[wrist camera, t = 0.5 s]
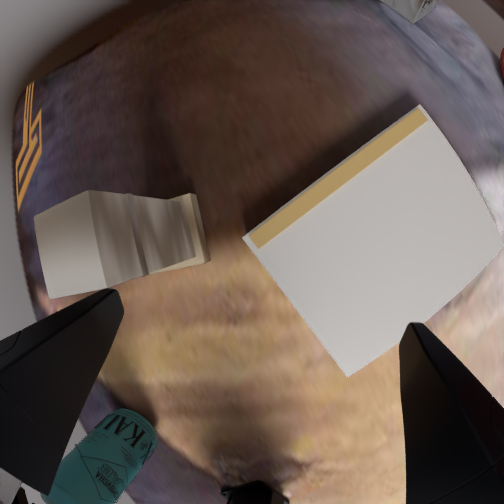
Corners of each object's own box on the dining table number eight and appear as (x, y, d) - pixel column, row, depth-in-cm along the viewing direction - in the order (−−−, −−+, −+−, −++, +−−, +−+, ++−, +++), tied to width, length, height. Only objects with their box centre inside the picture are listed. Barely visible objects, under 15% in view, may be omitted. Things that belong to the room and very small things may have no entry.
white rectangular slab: (344, 366, 23) (347, 378, 21) (246, 236, 23) (241, 237, 21) (492, 243, 20) (506, 245, 18) (411, 112, 20) (420, 103, 18)
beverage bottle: (143, 446, 28) (59, 552, 9) (107, 407, 28) (3, 502, 9) (176, 434, 27) (88, 565, 7) (137, 391, 27) (17, 507, 7)
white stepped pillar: (210, 260, 24) (121, 299, 11) (153, 272, 25) (46, 311, 12) (196, 194, 24) (96, 172, 11) (140, 211, 25) (26, 209, 12)
